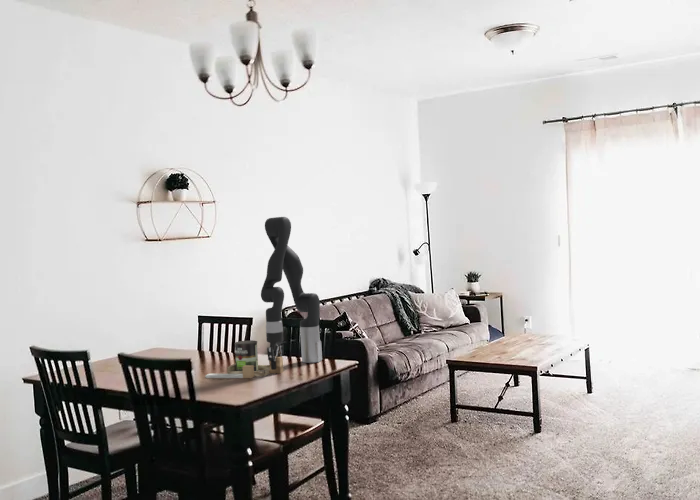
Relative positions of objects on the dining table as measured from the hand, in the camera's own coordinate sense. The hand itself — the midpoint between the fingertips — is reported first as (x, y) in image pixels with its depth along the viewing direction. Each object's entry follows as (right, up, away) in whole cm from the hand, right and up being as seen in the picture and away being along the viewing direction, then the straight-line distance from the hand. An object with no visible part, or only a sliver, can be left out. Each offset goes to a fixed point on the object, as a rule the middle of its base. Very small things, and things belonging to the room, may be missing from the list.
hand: (276, 367), depth 301 cm
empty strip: (-20, -3, -4) cm, 21 cm away
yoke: (-9, -3, +2) cm, 9 cm away
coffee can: (-14, -3, +4) cm, 14 cm away
